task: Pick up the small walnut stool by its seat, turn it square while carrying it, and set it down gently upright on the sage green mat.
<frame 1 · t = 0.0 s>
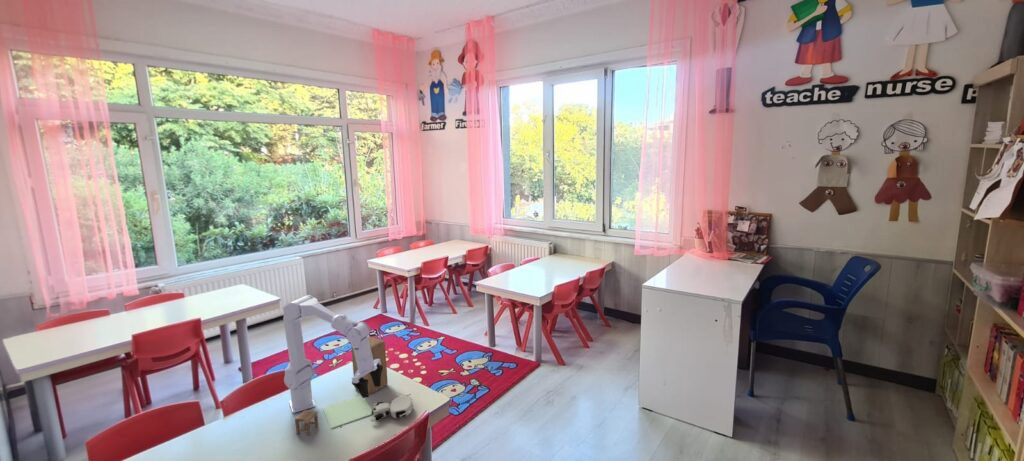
hand: (371, 391, 154), 11 cm above the table, tool pointing down, fingers open, 7 cm apart
wooden block: (371, 387, 177), on the table
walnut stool: (307, 430, 149), on the table
sage mat: (347, 411, 160), on the table
robot toy: (392, 414, 158), on the table
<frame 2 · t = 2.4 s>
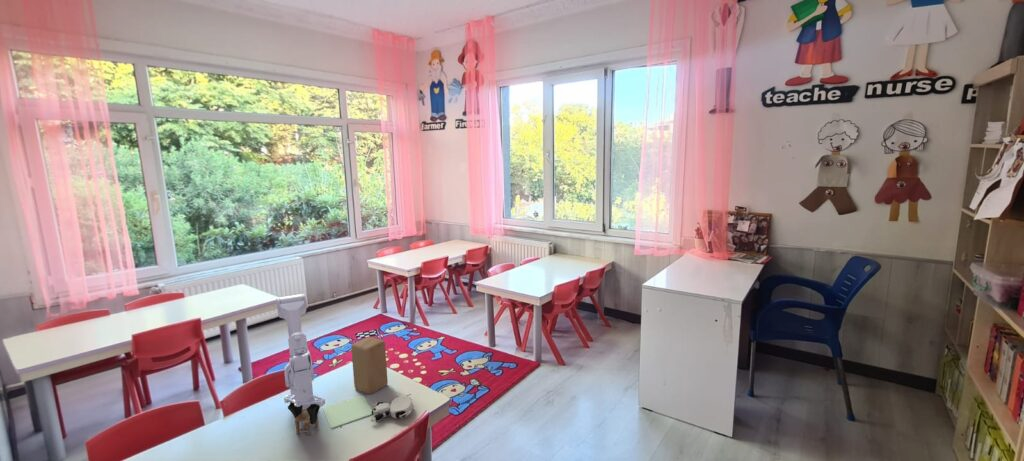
hand: (306, 422, 148), 3 cm above the table, tool pointing down, fingers closed on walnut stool, 5 cm apart
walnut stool: (307, 430, 149), on the table, touching gripper
everything else where it was.
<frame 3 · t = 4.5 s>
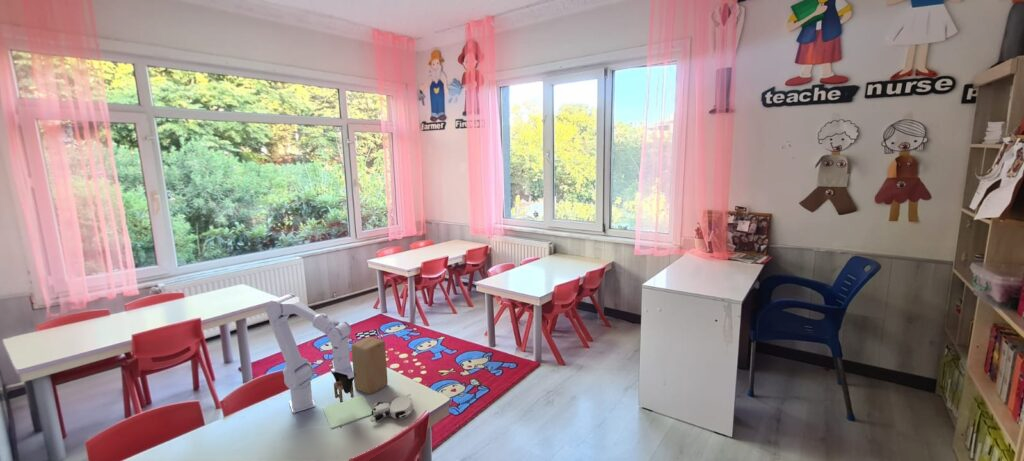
hand: (344, 389, 158), 9 cm above the table, tool pointing down, fingers closed on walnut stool, 5 cm apart
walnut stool: (344, 397, 158), point 6 cm above the table, touching gripper
everything else where it was.
when the fingers open (5 cm above the table, at t = 6.6 s): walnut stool stays where it is, resting on sage mat.
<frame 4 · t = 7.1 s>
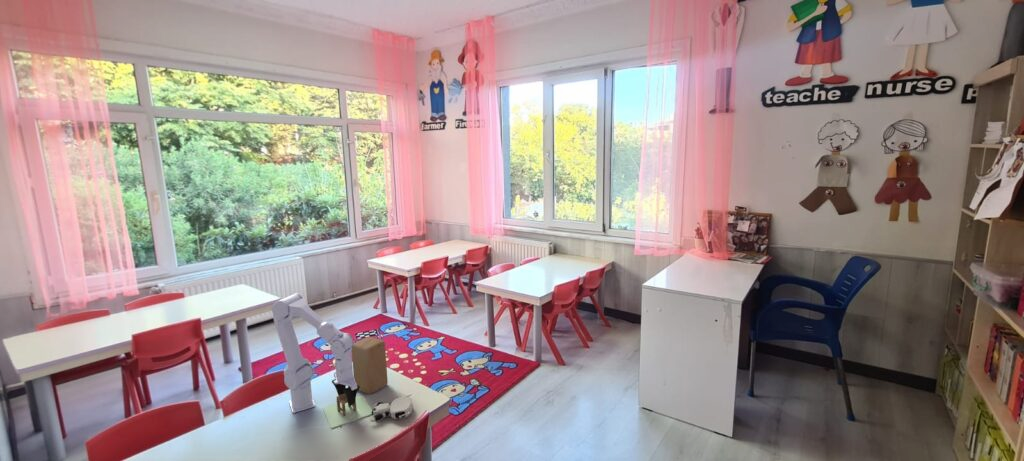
hand: (346, 400, 159), 5 cm above the table, tool pointing down, fingers open, 7 cm apart
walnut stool: (347, 410, 159), resting on sage mat
everything else where it was.
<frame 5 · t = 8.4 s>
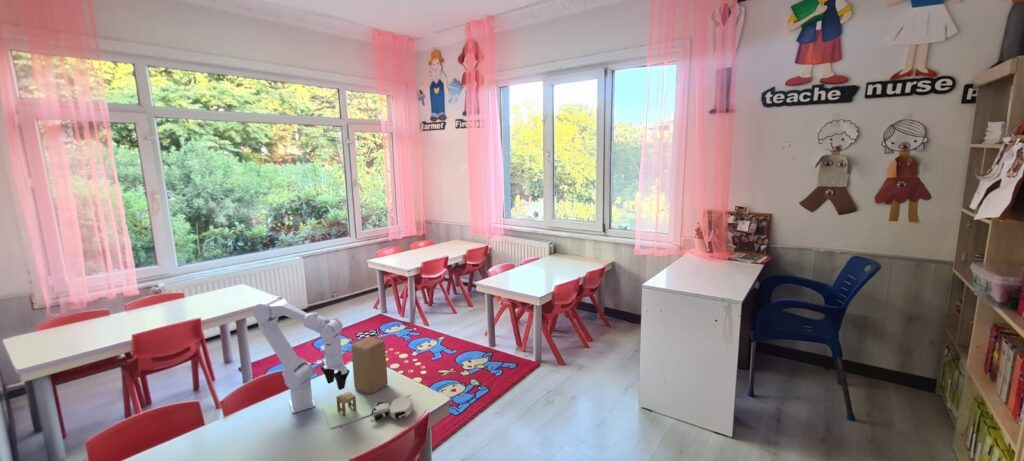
hand: (336, 385, 160), 9 cm above the table, tool pointing down, fingers open, 7 cm apart
nothing on the table moved.
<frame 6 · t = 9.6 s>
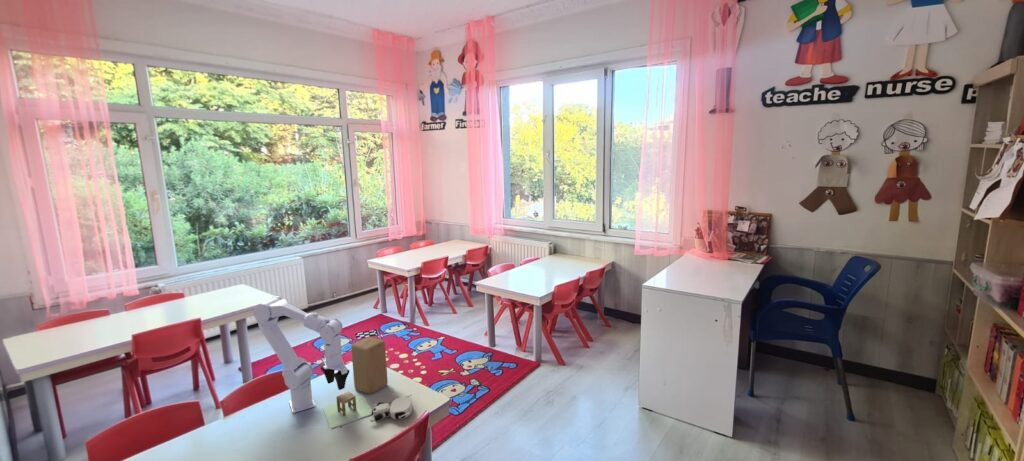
hand: (336, 385, 160), 9 cm above the table, tool pointing down, fingers open, 7 cm apart
nothing on the table moved.
at the end: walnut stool inside the target area on the sage mat (0.3 cm from its centre), point 0.4 cm above the sage mat's base; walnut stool tilted 0°; the gripper is holding nothing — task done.
